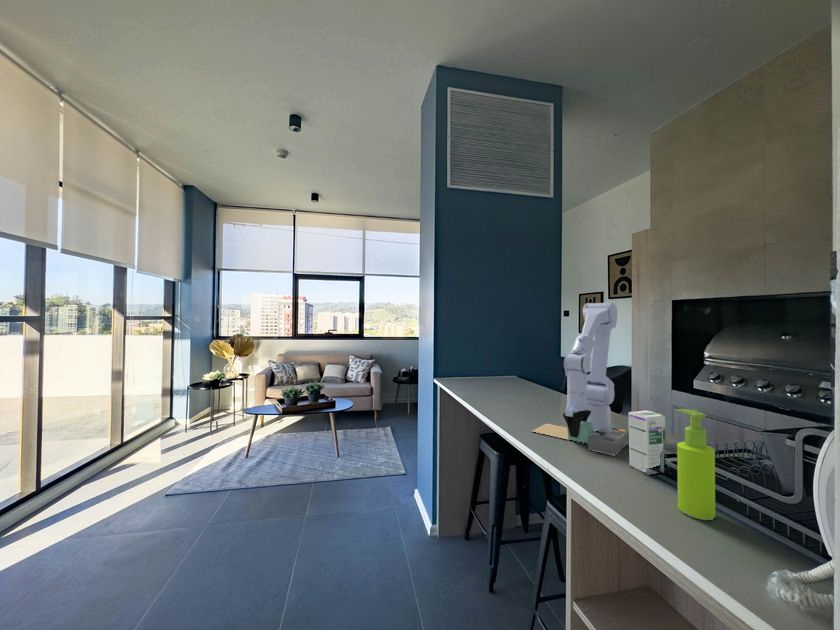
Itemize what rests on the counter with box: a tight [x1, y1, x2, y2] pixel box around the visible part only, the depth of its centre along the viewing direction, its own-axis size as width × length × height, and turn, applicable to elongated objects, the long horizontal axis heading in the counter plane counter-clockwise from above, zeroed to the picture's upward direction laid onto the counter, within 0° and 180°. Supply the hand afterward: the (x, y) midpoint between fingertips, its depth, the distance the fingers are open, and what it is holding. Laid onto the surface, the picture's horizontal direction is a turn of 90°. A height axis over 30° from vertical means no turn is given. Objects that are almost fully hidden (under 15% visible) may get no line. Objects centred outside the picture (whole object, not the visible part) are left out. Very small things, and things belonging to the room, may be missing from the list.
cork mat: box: [531, 422, 568, 439], centre depth 120 cm, size 12×12×1 cm
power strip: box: [587, 428, 629, 455], centre depth 106 cm, size 14×7×4 cm, turn 137°
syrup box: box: [628, 410, 667, 472], centre depth 90 cm, size 6×6×14 cm
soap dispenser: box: [676, 408, 716, 519], centre depth 71 cm, size 6×7×20 cm
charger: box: [568, 421, 600, 445], centre depth 111 cm, size 5×8×6 cm, turn 47°
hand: (577, 434), depth 113 cm, fingers closed on charger, 5 cm apart
